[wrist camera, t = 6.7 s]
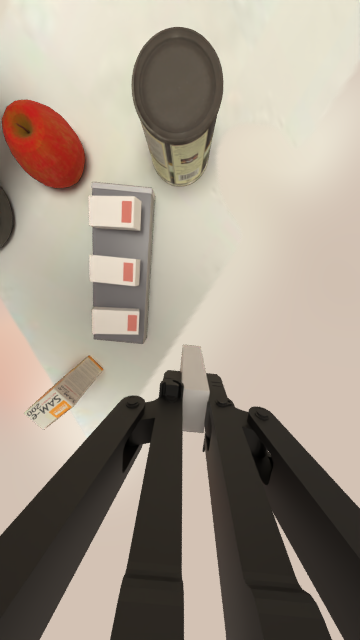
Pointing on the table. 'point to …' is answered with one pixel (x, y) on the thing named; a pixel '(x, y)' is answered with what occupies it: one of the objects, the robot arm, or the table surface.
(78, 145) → the apple
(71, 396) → the supplement box
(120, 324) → the rocker
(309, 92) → the table surface
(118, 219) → the block
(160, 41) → the coffee can
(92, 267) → the rocker
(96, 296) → the rocker switch panel
